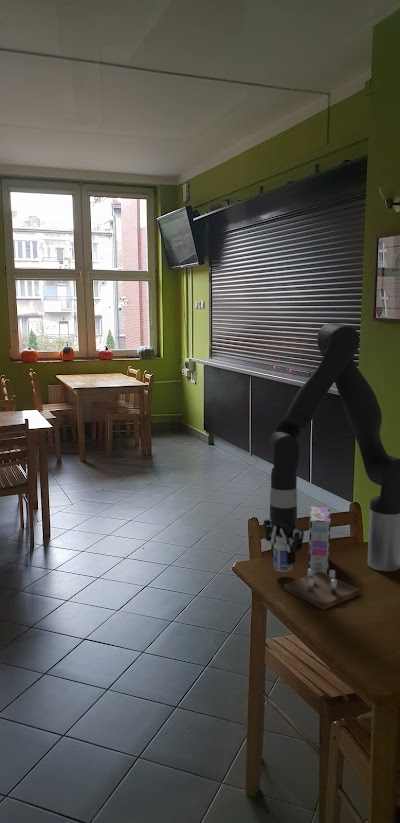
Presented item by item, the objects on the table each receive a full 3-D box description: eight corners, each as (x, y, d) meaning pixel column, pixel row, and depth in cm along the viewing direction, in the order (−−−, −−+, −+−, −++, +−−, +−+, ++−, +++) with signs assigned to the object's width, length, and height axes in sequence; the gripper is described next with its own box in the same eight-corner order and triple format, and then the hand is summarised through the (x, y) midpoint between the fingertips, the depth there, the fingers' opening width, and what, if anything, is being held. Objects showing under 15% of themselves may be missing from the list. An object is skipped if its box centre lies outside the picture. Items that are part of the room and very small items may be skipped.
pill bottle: (295, 567, 170) (296, 534, 169) (287, 574, 166) (288, 540, 164) (278, 563, 173) (278, 531, 172) (270, 570, 169) (270, 537, 167)
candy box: (328, 577, 170) (330, 521, 167) (307, 575, 171) (309, 520, 168) (328, 558, 183) (330, 506, 180) (308, 557, 184) (310, 505, 182)
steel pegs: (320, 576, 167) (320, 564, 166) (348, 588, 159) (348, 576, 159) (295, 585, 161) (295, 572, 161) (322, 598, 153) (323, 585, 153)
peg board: (319, 576, 170) (319, 571, 170) (359, 594, 159) (359, 589, 159) (283, 589, 162) (284, 584, 162) (323, 609, 151) (323, 604, 150)
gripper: (312, 506, 163) (311, 565, 165) (275, 494, 174) (275, 549, 177) (292, 511, 158) (291, 572, 161) (256, 499, 170) (256, 555, 173)
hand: (282, 560), depth 169 cm, fingers closed on pill bottle, 5 cm apart
